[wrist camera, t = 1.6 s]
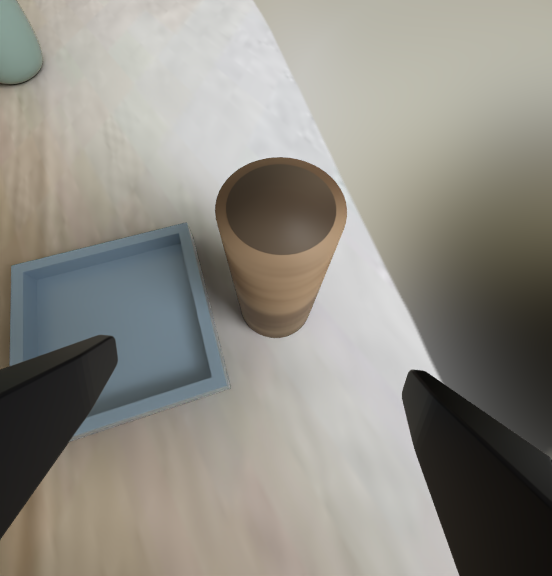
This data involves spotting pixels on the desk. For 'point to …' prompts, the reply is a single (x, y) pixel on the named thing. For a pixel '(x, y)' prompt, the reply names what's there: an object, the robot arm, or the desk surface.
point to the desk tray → (125, 320)
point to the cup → (17, 45)
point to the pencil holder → (279, 239)
